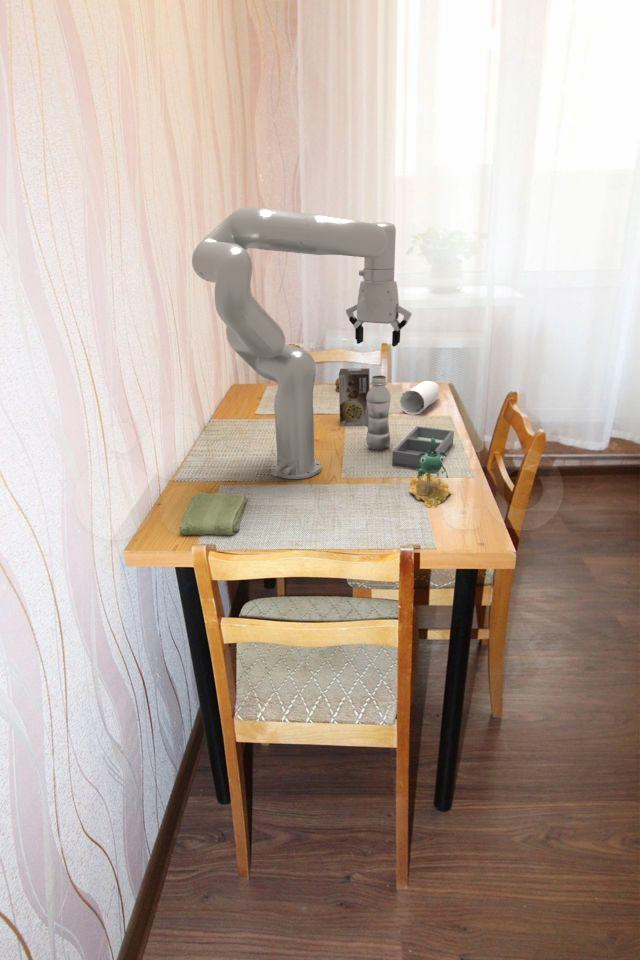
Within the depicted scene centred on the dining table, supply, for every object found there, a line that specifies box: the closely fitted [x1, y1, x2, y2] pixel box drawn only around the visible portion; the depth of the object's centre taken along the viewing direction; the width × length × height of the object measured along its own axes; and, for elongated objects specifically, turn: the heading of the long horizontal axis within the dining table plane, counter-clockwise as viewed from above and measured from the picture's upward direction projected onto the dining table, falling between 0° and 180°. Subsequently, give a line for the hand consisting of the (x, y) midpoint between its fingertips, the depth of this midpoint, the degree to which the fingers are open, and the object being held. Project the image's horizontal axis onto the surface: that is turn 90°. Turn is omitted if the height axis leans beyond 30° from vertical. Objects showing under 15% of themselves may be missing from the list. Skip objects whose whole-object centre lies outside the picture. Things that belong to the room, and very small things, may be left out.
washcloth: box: [179, 492, 249, 536], centre depth 143 cm, size 13×18×3 cm
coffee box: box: [338, 368, 371, 427], centre depth 194 cm, size 9×6×16 cm
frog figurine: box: [409, 438, 452, 509], centre depth 150 cm, size 10×18×15 cm, turn 173°
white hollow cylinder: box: [399, 380, 440, 416], centre depth 208 cm, size 8×19×8 cm, turn 149°
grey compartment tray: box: [391, 425, 455, 471], centre depth 172 cm, size 20×11×4 cm, turn 155°
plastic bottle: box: [365, 374, 392, 450], centre depth 174 cm, size 6×7×20 cm
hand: (377, 344), depth 169 cm, fingers open, 9 cm apart
